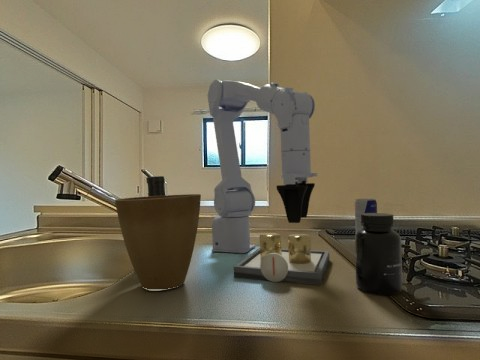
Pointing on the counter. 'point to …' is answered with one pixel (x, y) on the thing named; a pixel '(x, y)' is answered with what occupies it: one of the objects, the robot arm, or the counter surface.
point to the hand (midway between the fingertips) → (298, 219)
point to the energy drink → (363, 210)
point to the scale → (281, 269)
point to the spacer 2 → (299, 248)
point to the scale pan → (291, 266)
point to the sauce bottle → (156, 186)
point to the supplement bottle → (378, 255)
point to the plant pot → (159, 236)
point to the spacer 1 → (270, 244)
